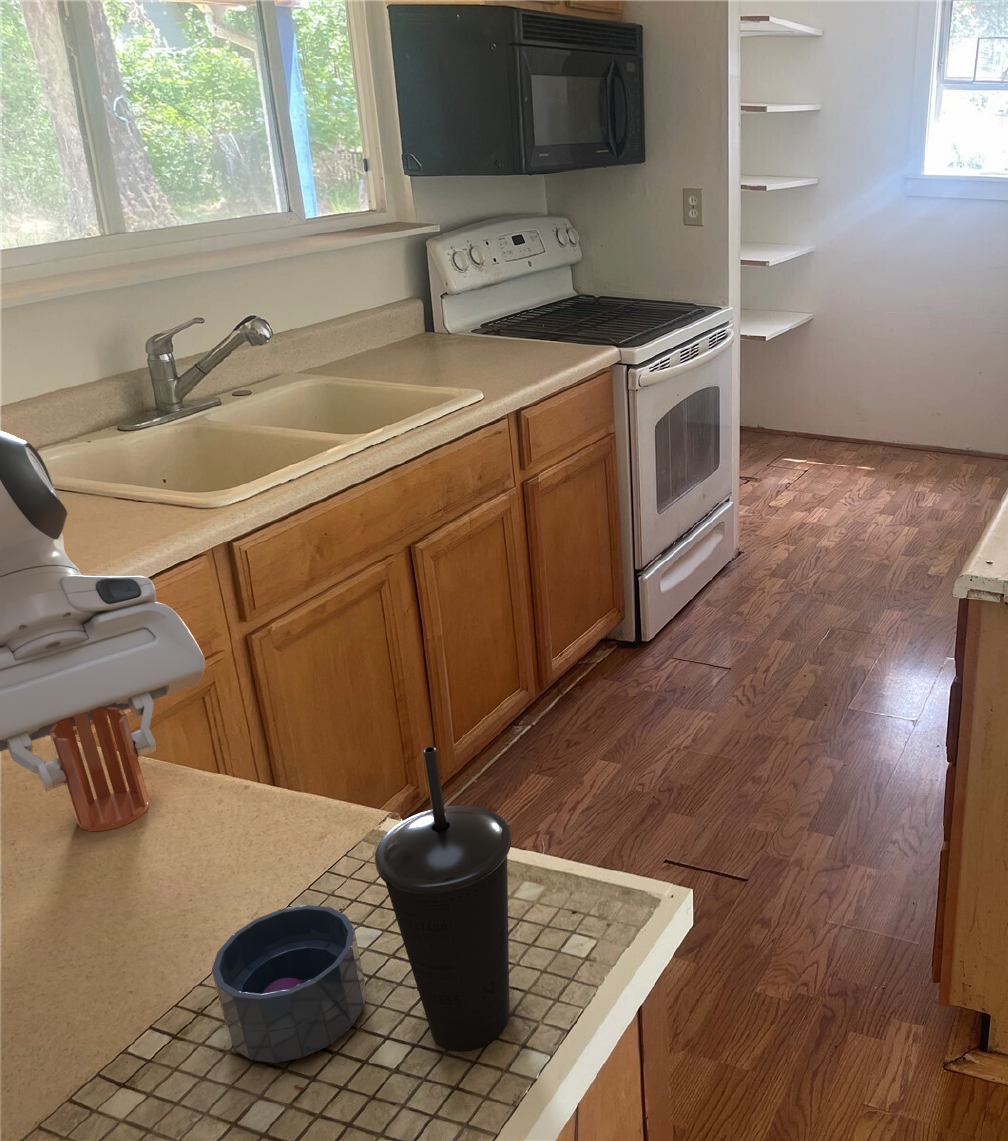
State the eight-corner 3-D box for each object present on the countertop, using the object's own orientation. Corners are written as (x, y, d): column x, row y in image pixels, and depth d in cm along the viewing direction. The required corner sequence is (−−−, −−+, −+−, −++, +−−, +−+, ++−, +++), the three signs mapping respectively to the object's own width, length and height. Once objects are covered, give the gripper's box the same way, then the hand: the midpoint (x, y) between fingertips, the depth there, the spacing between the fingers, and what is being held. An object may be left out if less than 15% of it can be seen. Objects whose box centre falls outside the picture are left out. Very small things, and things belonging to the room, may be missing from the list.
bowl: (218, 1080, 63) (199, 1009, 61) (244, 983, 70) (227, 917, 68) (360, 1053, 65) (346, 983, 63) (371, 961, 72) (359, 896, 70)
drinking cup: (401, 1081, 63) (347, 797, 55) (412, 987, 70) (366, 723, 62) (533, 1059, 65) (498, 779, 57) (531, 968, 71) (500, 708, 64)
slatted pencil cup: (69, 812, 88) (42, 723, 85) (137, 786, 92) (113, 700, 88) (88, 839, 85) (60, 748, 82) (158, 812, 88) (134, 723, 85)
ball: (249, 1036, 64) (288, 1042, 67) (287, 1008, 64) (325, 1015, 66) (244, 991, 66) (282, 998, 68) (280, 964, 66) (318, 972, 68)
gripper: (-122, 649, 80) (-54, 812, 77) (169, 571, 93) (235, 708, 90) (-113, 682, 84) (-49, 837, 82) (163, 604, 98) (226, 734, 95)
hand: (103, 768), depth 86 cm, fingers closed on slatted pencil cup, 5 cm apart
